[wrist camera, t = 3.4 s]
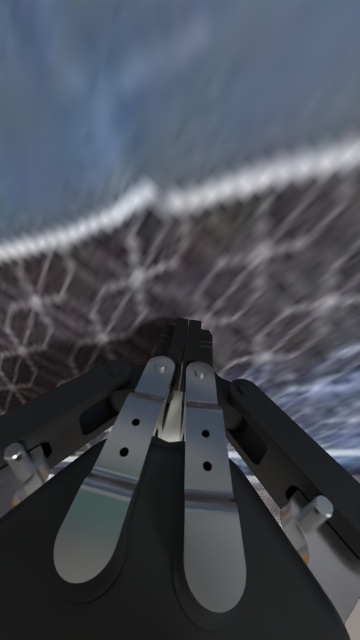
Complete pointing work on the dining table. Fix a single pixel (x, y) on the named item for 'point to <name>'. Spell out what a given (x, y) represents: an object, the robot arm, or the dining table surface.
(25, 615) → the robot arm
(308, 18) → the dining table surface
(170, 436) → the white ball
